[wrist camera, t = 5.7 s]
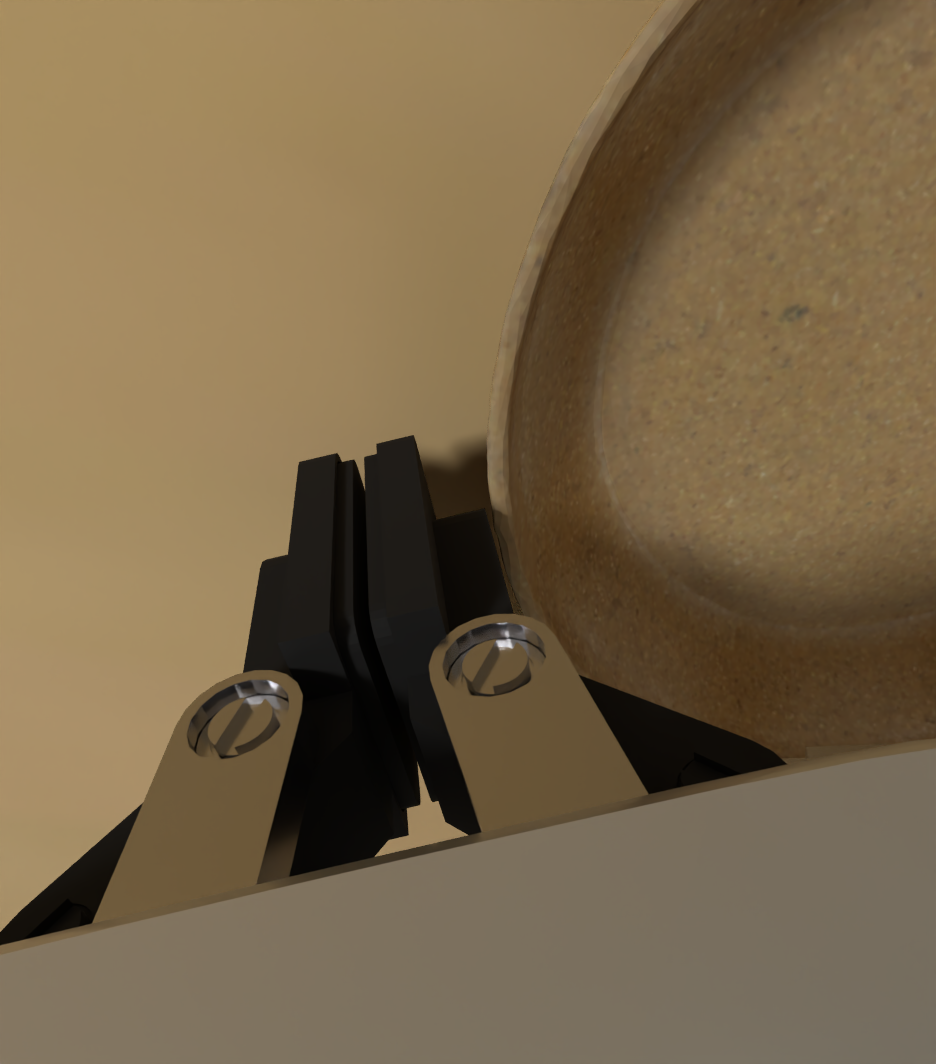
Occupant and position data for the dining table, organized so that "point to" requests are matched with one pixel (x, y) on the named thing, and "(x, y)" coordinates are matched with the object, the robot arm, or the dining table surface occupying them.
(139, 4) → the dining table surface
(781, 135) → the plant saucer
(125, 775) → the dining table surface
